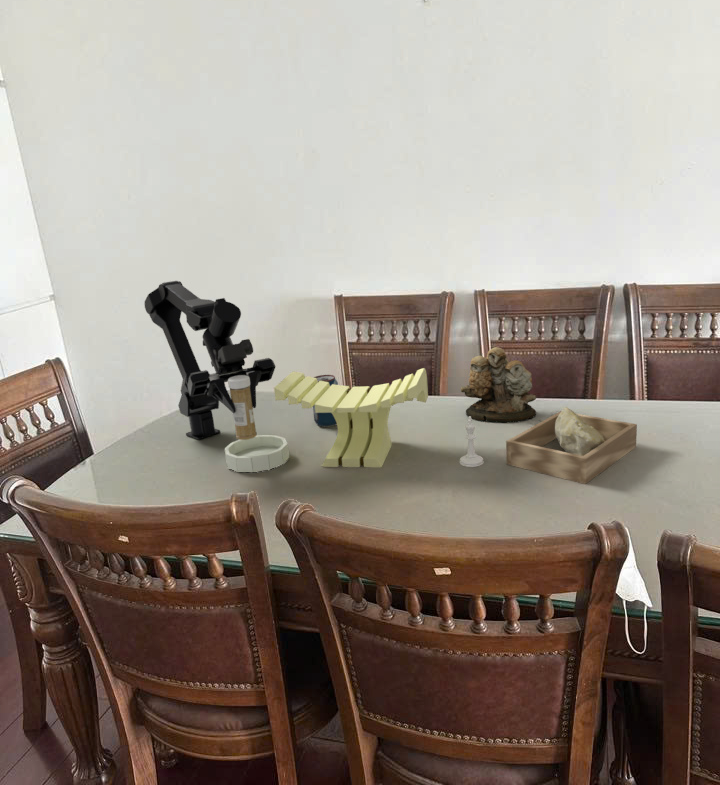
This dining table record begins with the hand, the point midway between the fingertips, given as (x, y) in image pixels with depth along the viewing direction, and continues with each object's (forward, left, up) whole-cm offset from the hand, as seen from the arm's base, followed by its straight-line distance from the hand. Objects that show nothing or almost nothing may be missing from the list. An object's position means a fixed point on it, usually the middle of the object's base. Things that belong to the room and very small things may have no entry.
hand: (244, 409), depth 143 cm
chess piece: (+38, +28, -13) cm, 49 cm away
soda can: (-7, +29, -13) cm, 33 cm away
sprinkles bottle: (-1, 0, -7) cm, 7 cm away
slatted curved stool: (+14, +19, -13) cm, 27 cm away
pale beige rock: (+56, +43, -13) cm, 72 cm away
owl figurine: (+26, +56, -13) cm, 63 cm away
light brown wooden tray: (+53, +42, -13) cm, 69 cm away
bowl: (-2, +3, -13) cm, 14 cm away
